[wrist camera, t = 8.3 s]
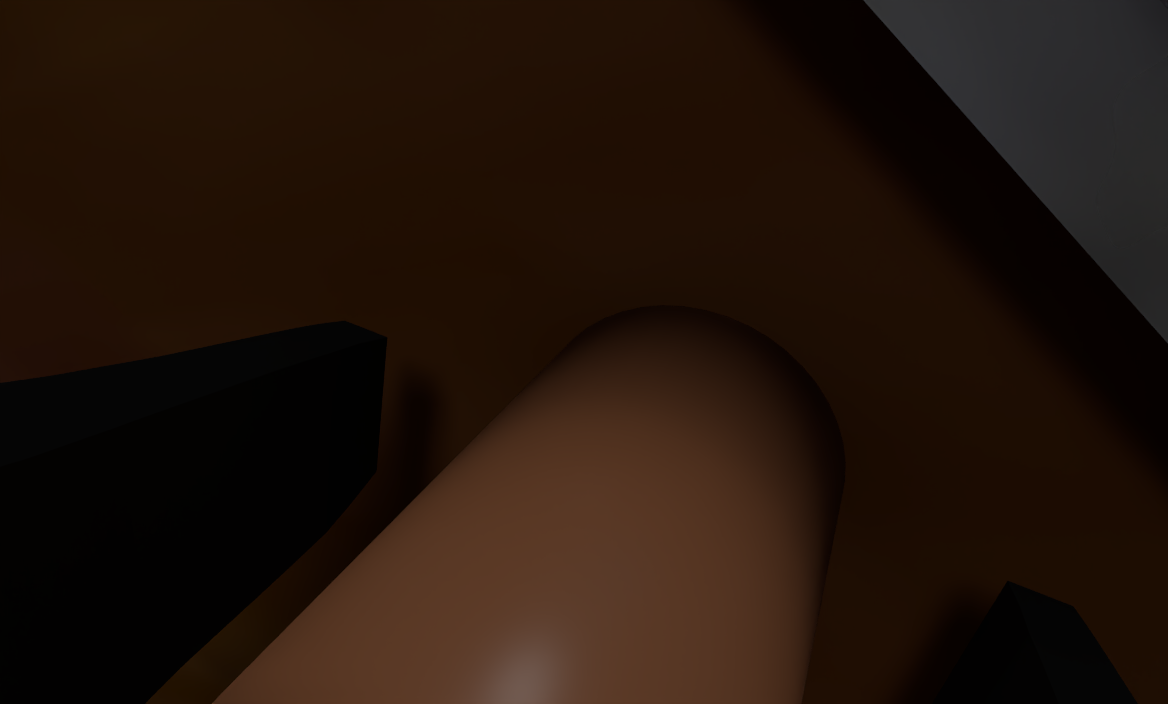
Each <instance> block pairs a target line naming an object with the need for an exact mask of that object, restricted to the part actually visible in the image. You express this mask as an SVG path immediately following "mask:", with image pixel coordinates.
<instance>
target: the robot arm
mask: <svg viewBox="0 0 1168 704" xmlns="http://www.w3.org/2000/svg"><path fill="white" fill-rule="evenodd" d="M386 346H387V337H385V336H382V335H380V334H377V333H375V332H372V331H369V330H367V329H364V328H362V327H359V326H357V325H354V324H352V323H349V322H346V321H340V322H331V323H323V324H317V325H311V326H305V327H300V328H294V329H289V330H284V331H279V332H274V333H269V334H265V335H260V336H255V337H250V338H246V339H241V340H236V341H231V342H227V343H222V344H217V345H212V346H208V347H203V348H198V349H193V350H188V351H184V352H179V353H174V354H169V355H164V356H159V357H154V358H149V359H143V360H137V361H132V362H126V363H121V364H115V365H109V366H104V367H98V368H93V369H87V370H81V371H76V372H70V373H65V374H59V375H53V376H46V377H40V378H33V379H26V380H19V381H11V382H4V383H0V704H145V703H146V702H147V701H148V700H149V699H150V698H151V697H152V696H153V695H154V694H155V693H156V692H157V691H158V690H159V689H160V688H161V687H162V686H163V685H164V684H165V683H166V682H167V681H168V680H169V679H170V678H171V677H172V676H173V675H174V674H175V673H176V672H177V671H178V670H179V669H180V668H181V667H182V666H183V665H184V664H185V663H186V662H187V661H188V660H189V659H190V658H192V657H193V656H194V655H195V654H196V653H197V652H198V651H199V650H200V649H201V648H202V647H204V646H205V645H206V644H207V643H208V642H209V641H210V640H211V639H212V638H213V637H214V636H215V635H217V634H218V633H219V632H220V631H221V630H222V629H223V628H224V627H225V626H226V625H227V624H229V623H230V622H231V621H232V620H233V619H234V618H235V617H236V616H237V615H238V614H239V613H240V612H242V611H243V610H244V609H245V608H246V607H247V606H248V605H249V604H250V603H251V602H252V601H254V600H255V599H256V598H257V597H258V596H259V595H260V594H261V593H262V592H263V591H264V590H266V589H267V588H268V587H269V586H270V585H271V584H272V583H273V582H274V581H275V580H276V579H278V578H279V577H280V576H281V575H282V574H283V573H284V572H285V571H286V570H287V569H288V568H289V567H290V566H291V565H292V564H294V563H295V562H296V561H297V560H298V559H299V558H300V557H301V556H302V555H303V554H304V553H305V552H306V551H307V550H308V549H310V548H311V547H312V546H313V545H314V544H315V543H316V542H317V541H318V540H319V539H320V538H321V537H322V536H323V535H324V534H325V533H326V532H327V531H328V530H329V529H330V527H331V526H332V525H333V524H334V523H335V522H336V520H337V519H338V518H339V517H340V516H341V515H342V513H343V512H344V511H345V510H346V509H347V508H348V506H349V505H350V504H351V503H352V501H353V500H354V499H355V498H356V496H357V495H358V494H359V493H360V491H361V490H362V489H363V488H364V486H365V485H366V484H367V483H368V481H369V480H370V479H371V477H372V476H373V475H374V474H375V472H376V470H377V458H378V445H379V433H380V421H381V408H382V396H383V383H384V371H385V358H386ZM932 704H1137V702H1136V700H1135V699H1134V697H1133V696H1132V694H1131V693H1130V691H1129V690H1128V688H1127V687H1126V685H1125V683H1124V682H1123V680H1122V679H1121V677H1120V676H1119V674H1118V673H1117V671H1116V669H1115V668H1114V666H1113V665H1112V663H1111V662H1110V660H1109V659H1108V657H1107V656H1106V654H1105V652H1104V651H1103V649H1102V648H1101V646H1100V645H1099V643H1098V642H1097V640H1096V639H1095V637H1094V636H1093V634H1092V633H1091V631H1090V630H1089V628H1088V627H1087V625H1086V624H1085V622H1084V621H1083V620H1082V618H1081V617H1080V615H1079V614H1078V613H1077V611H1076V610H1075V608H1074V607H1073V606H1071V605H1068V604H1066V603H1063V602H1060V601H1058V600H1055V599H1053V598H1050V597H1048V596H1045V595H1043V594H1040V593H1038V592H1035V591H1032V590H1030V589H1027V588H1025V587H1022V586H1020V585H1017V584H1015V583H1012V582H1009V581H1007V583H1006V584H1005V586H1004V588H1003V589H1002V591H1001V593H1000V594H999V596H998V597H997V599H996V601H995V602H994V604H993V606H992V607H991V609H990V610H989V612H988V614H987V615H986V617H985V619H984V620H983V622H982V623H981V625H980V627H979V628H978V630H977V632H976V633H975V635H974V637H973V638H972V640H971V641H970V643H969V645H968V646H967V648H966V650H965V651H964V653H963V654H962V656H961V658H960V659H959V661H958V663H957V664H956V666H955V667H954V669H953V671H952V672H951V674H950V676H949V677H948V679H947V680H946V682H945V684H944V685H943V687H942V689H941V690H940V692H939V693H938V695H937V697H936V698H935V700H934V702H933V703H932Z"/></svg>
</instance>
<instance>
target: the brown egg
mask: <svg viewBox="0 0 1168 704" xmlns="http://www.w3.org/2000/svg"><path fill="white" fill-rule="evenodd" d="M845 463H846V462H845V454H844V445H843V440H842V437H841V433H840V429H839V426H838V423H837V420H836V418H835V416H834V413H833V411H832V409H831V407H830V404H829V402H828V401H827V399H826V398H825V396H824V394H823V393H822V391H821V389H820V388H819V386H818V385H817V383H816V382H815V381H814V380H813V378H812V377H811V376H810V375H809V373H808V372H807V371H806V370H805V368H804V367H803V366H802V365H801V364H800V363H799V362H798V361H797V360H795V359H794V358H793V357H792V356H791V355H790V354H789V353H788V352H787V351H786V350H785V349H783V348H782V347H781V346H779V345H778V344H777V343H775V342H774V341H773V340H771V339H770V338H769V337H767V336H765V335H764V334H762V333H760V332H758V331H757V330H755V329H753V328H752V327H750V326H748V325H746V324H743V323H741V322H739V321H736V320H734V319H732V318H730V317H727V316H724V315H720V314H717V313H714V312H710V311H707V310H702V309H696V308H691V307H685V306H665V305H661V306H649V307H640V308H636V309H631V310H627V311H622V312H620V313H617V314H614V315H612V316H609V317H606V318H604V319H602V320H600V321H598V322H597V323H595V324H593V325H591V326H589V327H588V328H587V329H585V330H584V331H583V332H581V333H580V334H579V335H577V336H576V337H575V338H574V339H573V340H572V341H571V342H570V343H569V344H568V345H567V346H566V347H565V348H564V349H563V350H562V351H561V352H560V353H559V354H558V355H557V356H556V357H555V358H554V359H553V360H552V361H551V362H550V363H549V364H548V365H547V366H546V367H545V368H544V369H543V370H542V371H541V372H540V373H539V374H538V375H537V376H536V377H535V378H534V379H533V380H532V381H531V382H530V383H529V384H528V385H527V386H526V387H525V388H524V389H523V390H522V391H521V392H520V393H519V394H518V395H517V396H516V397H515V398H514V399H513V400H512V401H511V402H510V403H509V404H508V405H507V406H506V407H505V408H504V409H503V410H502V411H501V412H500V413H499V414H498V415H497V416H496V417H495V418H494V419H493V420H492V421H491V422H490V423H489V424H488V425H487V426H486V427H485V428H484V429H483V430H482V432H481V433H480V434H479V435H478V436H477V437H476V438H475V439H474V440H473V441H472V442H471V443H470V444H469V445H468V446H467V447H466V448H465V449H464V450H463V451H462V452H461V453H460V454H459V455H458V456H457V457H456V458H455V459H454V460H453V461H452V462H451V463H450V464H449V465H448V466H447V467H446V468H445V469H444V470H443V471H442V472H441V473H440V474H439V475H438V476H437V477H436V478H435V479H434V480H433V481H432V482H431V483H430V484H429V485H428V486H427V487H426V488H425V489H424V490H423V491H422V492H421V493H420V494H419V495H418V496H417V497H416V498H415V499H414V500H413V501H412V502H411V503H410V504H409V505H408V506H407V507H406V508H405V509H404V510H403V511H402V512H401V513H400V514H399V515H398V516H397V517H396V518H395V519H394V520H393V521H392V522H391V523H390V524H389V525H388V526H387V527H386V528H385V529H384V530H383V531H382V532H381V533H380V534H379V535H378V536H377V537H376V538H375V539H374V540H373V541H372V542H371V543H370V544H369V545H368V546H367V547H366V548H365V549H364V550H363V551H362V552H361V553H360V554H359V555H358V556H357V557H356V558H355V559H354V560H353V561H352V562H351V563H350V564H349V565H348V567H347V568H346V569H345V570H344V571H343V572H342V573H341V574H340V575H339V576H338V577H337V578H336V579H335V580H334V581H333V582H332V583H331V584H330V585H329V586H328V587H327V588H326V589H325V590H324V591H323V592H322V593H321V594H320V595H319V596H318V597H317V598H316V599H315V600H314V601H313V602H312V603H311V604H310V605H309V606H308V607H307V608H306V609H305V610H304V611H303V612H302V613H301V614H300V615H299V616H298V617H297V618H296V619H295V620H294V621H293V622H292V623H291V624H290V625H289V626H288V627H287V628H286V629H285V630H284V631H283V632H282V633H281V634H280V635H279V636H278V637H277V638H276V639H275V640H274V641H273V642H272V643H271V644H270V645H269V646H268V647H267V648H266V649H265V650H264V651H263V652H262V653H261V654H260V655H259V656H258V657H257V658H256V659H255V660H254V661H253V662H252V663H251V664H250V665H249V666H248V667H247V668H246V669H245V670H244V671H243V672H242V673H241V674H240V675H239V676H238V677H237V678H236V679H235V680H234V681H233V682H232V683H231V684H230V685H229V686H228V687H227V688H226V689H225V690H224V691H223V692H222V693H221V695H220V696H219V697H218V698H217V699H216V700H215V701H214V702H213V703H212V704H801V703H802V698H803V693H804V688H805V682H806V677H807V672H808V667H809V662H810V657H811V652H812V647H813V642H814V636H815V631H816V626H817V621H818V616H819V611H820V606H821V601H822V596H823V590H824V585H825V580H826V575H827V570H828V565H829V560H830V555H831V550H832V544H833V539H834V534H835V529H836V524H837V519H838V514H839V509H840V504H841V498H842V493H843V488H844V483H845Z"/></svg>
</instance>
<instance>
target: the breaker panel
mask: <svg viewBox="0 0 1168 704" xmlns="http://www.w3.org/2000/svg"><path fill="white" fill-rule="evenodd" d="M864 1H865V3H866V4H867V5H868V6H869V7H870V8H871V9H872V10H873V12H874V13H875V14H876V15H877V16H878V17H879V18H880V19H881V21H882V22H883V23H884V24H885V25H886V26H887V27H888V28H889V30H890V31H891V32H892V33H893V34H894V35H895V36H896V38H897V39H898V40H899V41H900V42H901V43H902V44H903V45H904V47H905V48H906V49H907V50H908V51H909V52H910V53H911V54H912V56H913V57H914V58H915V59H916V60H917V61H918V62H919V63H920V65H921V66H922V67H923V68H924V69H925V70H926V71H927V72H928V74H929V75H930V76H931V77H932V78H933V79H934V80H935V81H936V83H937V84H938V85H939V86H940V87H941V88H942V89H943V90H944V92H945V93H946V94H947V95H948V96H949V97H950V98H951V100H952V101H953V102H954V103H955V104H956V105H957V106H958V107H959V109H960V110H961V111H962V112H963V113H964V114H965V115H966V116H967V118H968V119H969V120H970V121H971V122H972V123H973V124H974V125H975V127H976V128H977V129H978V130H979V131H980V132H981V133H982V134H983V136H984V137H985V138H986V139H987V140H988V141H989V142H990V143H991V145H992V146H993V147H994V148H995V149H996V150H997V151H998V152H999V154H1000V155H1001V156H1002V157H1003V158H1004V159H1005V160H1006V161H1007V163H1008V164H1009V165H1010V166H1011V167H1012V168H1013V169H1014V171H1015V172H1016V173H1017V174H1018V175H1019V176H1020V177H1021V178H1022V180H1023V181H1024V182H1025V183H1026V184H1027V185H1028V186H1029V187H1030V189H1031V190H1032V191H1033V192H1034V193H1035V194H1036V195H1037V196H1038V198H1039V199H1040V200H1041V201H1042V202H1043V203H1044V204H1045V205H1046V207H1047V208H1048V209H1049V210H1050V211H1051V212H1052V213H1053V214H1054V216H1055V217H1056V218H1057V219H1058V220H1059V221H1060V222H1061V223H1062V225H1063V226H1064V227H1065V228H1066V229H1067V230H1068V231H1069V233H1070V234H1071V235H1072V236H1073V237H1074V238H1075V239H1076V240H1077V242H1078V243H1079V244H1080V245H1081V246H1082V247H1083V248H1084V249H1085V251H1086V252H1087V253H1088V254H1089V255H1090V256H1091V257H1092V258H1093V260H1094V261H1095V262H1096V263H1097V264H1098V265H1099V266H1100V267H1101V269H1102V270H1103V271H1104V272H1105V273H1106V274H1107V275H1108V276H1109V278H1110V279H1111V280H1112V281H1113V282H1114V283H1115V284H1116V285H1117V287H1118V288H1119V289H1120V290H1121V291H1122V292H1123V293H1124V295H1125V296H1126V297H1127V298H1128V299H1129V300H1130V301H1131V302H1132V304H1133V305H1134V306H1135V307H1136V308H1137V309H1138V310H1139V311H1140V313H1141V314H1142V315H1143V316H1144V317H1145V318H1146V319H1147V320H1148V322H1149V323H1150V324H1151V325H1152V326H1153V327H1154V328H1155V329H1156V331H1157V332H1158V333H1159V334H1160V335H1161V336H1162V337H1163V338H1164V340H1165V341H1166V342H1167V343H1168V0H864Z"/></svg>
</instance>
